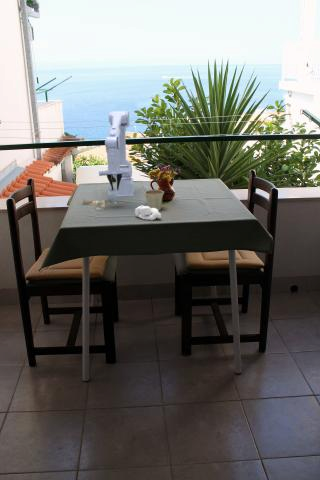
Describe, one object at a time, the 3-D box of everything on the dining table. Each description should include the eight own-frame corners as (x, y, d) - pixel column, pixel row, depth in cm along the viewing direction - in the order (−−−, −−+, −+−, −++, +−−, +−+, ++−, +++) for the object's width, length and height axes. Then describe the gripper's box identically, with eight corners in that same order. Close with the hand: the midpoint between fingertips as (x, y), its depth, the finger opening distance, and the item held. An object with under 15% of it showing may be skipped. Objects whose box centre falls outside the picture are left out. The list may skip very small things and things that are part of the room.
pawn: (116, 200, 256) (116, 184, 253) (117, 202, 252) (116, 186, 249) (108, 200, 255) (107, 184, 252) (108, 203, 251) (107, 187, 248)
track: (116, 200, 256) (116, 197, 256) (116, 204, 251) (116, 200, 250) (83, 202, 255) (83, 198, 254) (83, 205, 249) (83, 201, 249)
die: (104, 208, 245) (104, 200, 244) (104, 210, 242) (104, 202, 240) (96, 208, 245) (96, 200, 244) (96, 210, 241) (96, 202, 240)
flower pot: (154, 205, 247) (154, 188, 244) (168, 209, 241) (168, 191, 238) (140, 209, 241) (140, 192, 238) (154, 213, 235) (153, 195, 232)
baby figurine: (163, 220, 226) (156, 208, 220) (140, 229, 229) (131, 218, 223) (162, 207, 231) (154, 195, 226) (139, 216, 234) (131, 204, 229)
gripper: (98, 164, 231) (100, 192, 236) (129, 162, 233) (130, 191, 238) (98, 161, 238) (100, 188, 243) (128, 160, 239) (129, 187, 244)
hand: (115, 189), depth 241 cm, fingers closed
